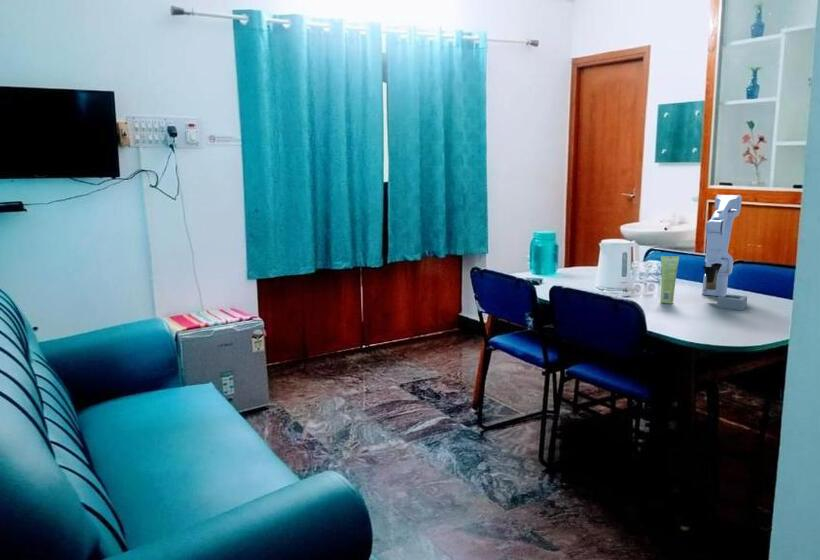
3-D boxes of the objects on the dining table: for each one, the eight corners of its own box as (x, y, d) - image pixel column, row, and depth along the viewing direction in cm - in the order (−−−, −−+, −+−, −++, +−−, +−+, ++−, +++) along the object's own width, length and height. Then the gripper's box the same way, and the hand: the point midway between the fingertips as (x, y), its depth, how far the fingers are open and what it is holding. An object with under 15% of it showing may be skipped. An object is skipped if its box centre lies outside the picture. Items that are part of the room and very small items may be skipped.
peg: (704, 289, 263) (705, 270, 261) (706, 287, 266) (708, 268, 264) (714, 290, 260) (716, 271, 259) (717, 288, 264) (718, 269, 262)
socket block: (716, 307, 253) (717, 297, 253) (722, 303, 260) (722, 293, 260) (741, 310, 248) (742, 300, 247) (746, 306, 255) (747, 296, 254)
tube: (664, 300, 266) (667, 254, 263) (676, 302, 263) (679, 256, 259) (657, 302, 263) (660, 256, 259) (669, 304, 259) (672, 257, 255)
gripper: (720, 252, 252) (717, 285, 255) (728, 247, 263) (725, 279, 266) (701, 250, 256) (698, 283, 259) (710, 246, 267) (707, 278, 270)
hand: (711, 281), depth 263 cm, fingers closed on peg, 4 cm apart
